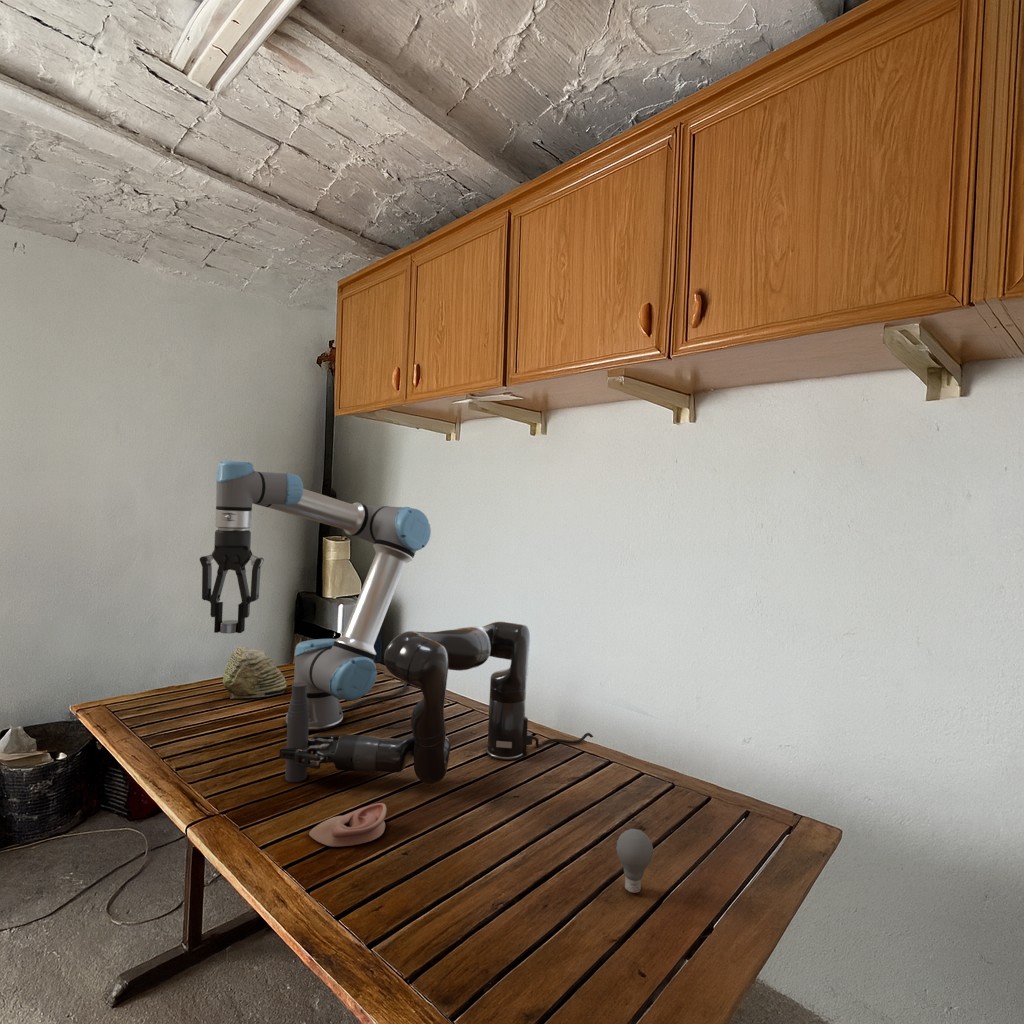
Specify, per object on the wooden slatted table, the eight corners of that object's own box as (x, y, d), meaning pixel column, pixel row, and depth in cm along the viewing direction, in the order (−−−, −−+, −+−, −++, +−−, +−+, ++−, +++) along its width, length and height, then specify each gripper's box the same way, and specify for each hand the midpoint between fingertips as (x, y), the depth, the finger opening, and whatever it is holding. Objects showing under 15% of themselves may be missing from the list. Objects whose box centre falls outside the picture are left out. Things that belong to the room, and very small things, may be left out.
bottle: (281, 777, 142) (285, 683, 142) (300, 771, 145) (304, 680, 145) (290, 784, 139) (294, 688, 139) (310, 778, 142) (313, 684, 142)
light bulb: (610, 879, 108) (613, 822, 108) (644, 879, 109) (647, 822, 109) (619, 902, 102) (622, 840, 102) (655, 901, 103) (658, 840, 103)
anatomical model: (301, 820, 116) (331, 792, 127) (300, 842, 116) (330, 812, 127) (368, 831, 113) (393, 801, 124) (368, 853, 113) (392, 821, 124)
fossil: (218, 695, 195) (220, 647, 195) (278, 685, 208) (279, 640, 207) (228, 703, 189) (230, 653, 188) (289, 692, 201) (290, 645, 201)
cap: (218, 633, 141) (219, 624, 141) (219, 629, 145) (219, 620, 145) (240, 632, 143) (240, 623, 143) (239, 629, 147) (239, 619, 147)
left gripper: (186, 528, 139) (182, 634, 139) (268, 531, 141) (264, 636, 141) (199, 526, 146) (195, 627, 147) (277, 529, 148) (273, 629, 149)
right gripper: (369, 725, 148) (298, 720, 149) (350, 749, 134) (271, 743, 135) (368, 756, 148) (296, 752, 149) (349, 784, 134) (270, 778, 135)
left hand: (229, 631), depth 144 cm, fingers closed on cap, 4 cm apart
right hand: (285, 748), depth 142 cm, fingers closed on bottle, 4 cm apart
